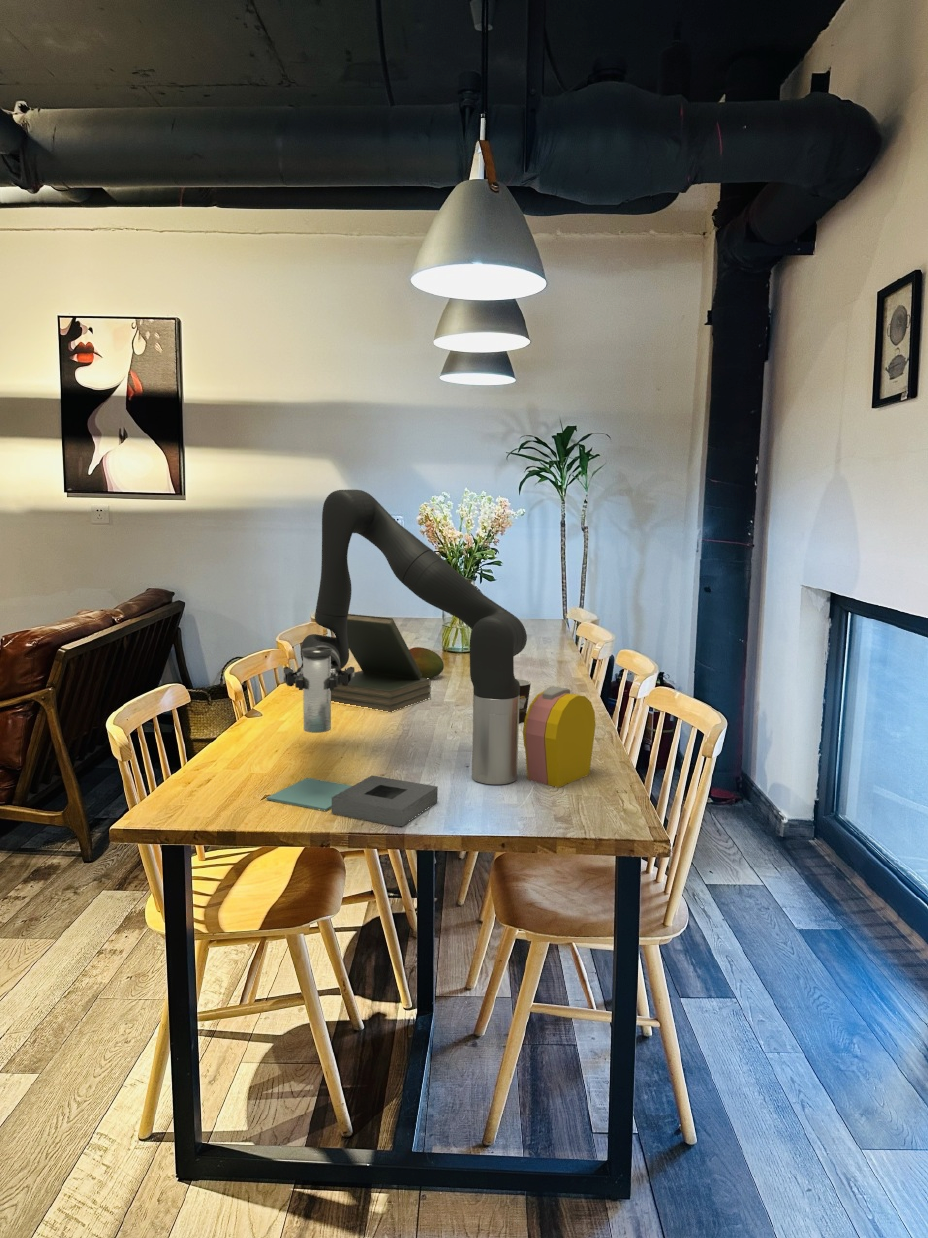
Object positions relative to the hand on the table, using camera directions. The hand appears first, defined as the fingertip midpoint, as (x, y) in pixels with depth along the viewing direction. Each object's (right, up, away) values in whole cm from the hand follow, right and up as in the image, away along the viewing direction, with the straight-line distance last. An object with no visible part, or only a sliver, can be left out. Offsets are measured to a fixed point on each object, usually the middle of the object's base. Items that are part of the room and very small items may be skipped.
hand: (316, 684), depth 156 cm
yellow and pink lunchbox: (+46, -21, +20) cm, 54 cm away
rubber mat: (-1, -21, +6) cm, 22 cm away
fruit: (+14, -7, +116) cm, 117 cm away
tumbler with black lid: (0, -9, +4) cm, 9 cm away
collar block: (+13, -22, 0) cm, 26 cm away
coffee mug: (+38, -14, +65) cm, 76 cm away
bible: (+3, -11, +84) cm, 85 cm away
